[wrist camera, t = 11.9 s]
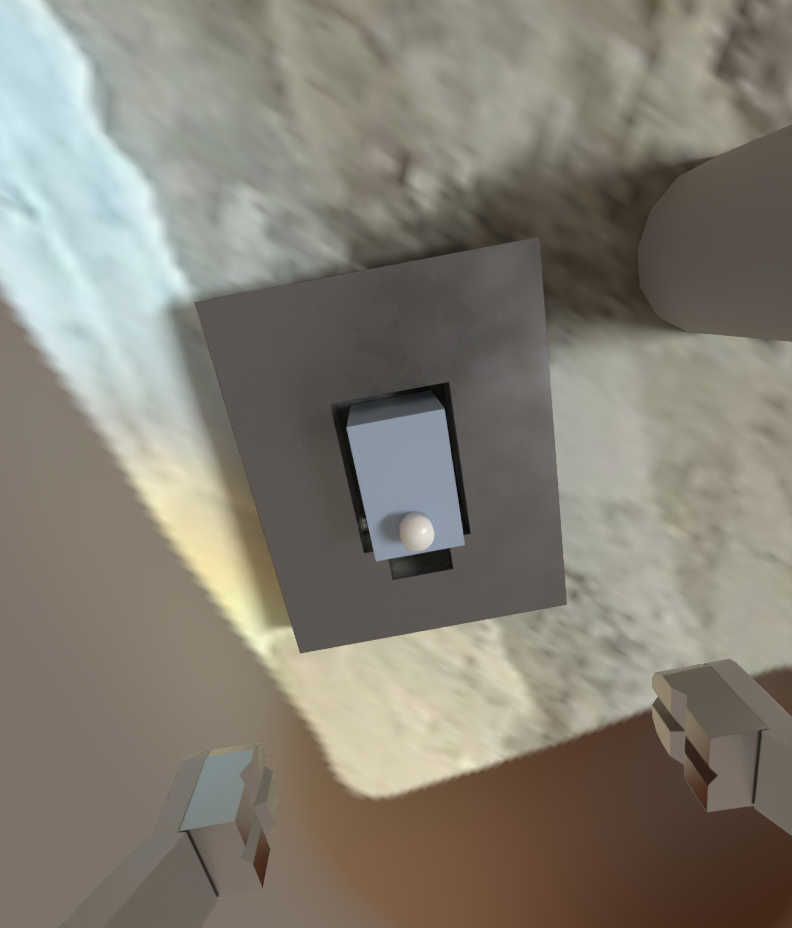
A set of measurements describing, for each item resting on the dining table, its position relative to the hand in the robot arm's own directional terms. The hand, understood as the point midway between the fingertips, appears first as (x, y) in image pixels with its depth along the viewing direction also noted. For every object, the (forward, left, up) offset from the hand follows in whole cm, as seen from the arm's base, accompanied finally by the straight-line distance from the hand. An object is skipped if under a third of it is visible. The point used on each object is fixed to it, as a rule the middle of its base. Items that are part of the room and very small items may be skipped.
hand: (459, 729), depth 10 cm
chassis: (0, 0, -19) cm, 19 cm away
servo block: (0, 0, -19) cm, 19 cm away
